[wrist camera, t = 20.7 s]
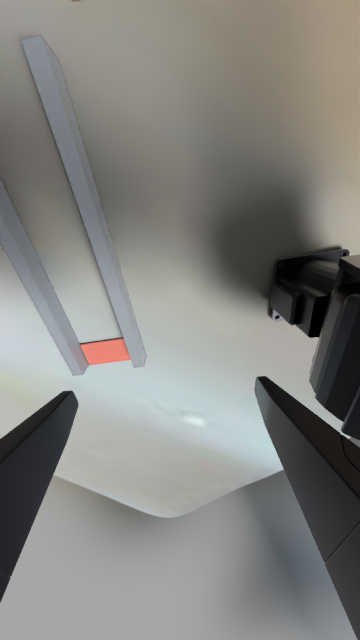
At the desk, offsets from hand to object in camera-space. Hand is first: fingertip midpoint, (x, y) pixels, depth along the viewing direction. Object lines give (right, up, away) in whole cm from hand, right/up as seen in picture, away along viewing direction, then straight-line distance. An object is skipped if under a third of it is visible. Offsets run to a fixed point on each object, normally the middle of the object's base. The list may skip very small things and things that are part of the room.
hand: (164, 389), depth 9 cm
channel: (-9, +9, +9) cm, 15 cm away
